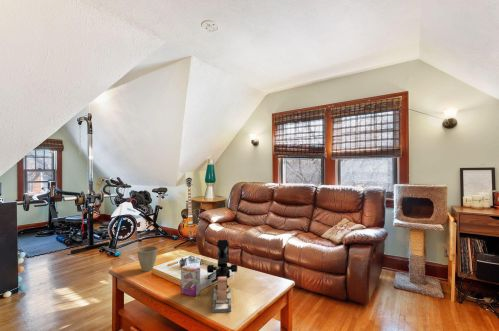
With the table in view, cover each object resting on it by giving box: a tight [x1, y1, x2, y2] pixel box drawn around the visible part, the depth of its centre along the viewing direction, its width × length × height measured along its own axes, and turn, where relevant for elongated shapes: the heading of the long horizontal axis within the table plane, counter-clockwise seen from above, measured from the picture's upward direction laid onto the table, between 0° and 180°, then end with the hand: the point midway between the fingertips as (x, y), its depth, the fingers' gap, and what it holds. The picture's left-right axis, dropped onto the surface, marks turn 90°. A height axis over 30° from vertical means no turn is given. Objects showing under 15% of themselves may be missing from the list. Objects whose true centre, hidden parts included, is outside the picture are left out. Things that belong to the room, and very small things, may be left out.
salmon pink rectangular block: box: [216, 277, 228, 303], centre depth 149 cm, size 7×7×12 cm
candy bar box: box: [180, 264, 201, 297], centre depth 159 cm, size 11×5×16 cm, turn 71°
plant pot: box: [137, 245, 159, 272], centre depth 197 cm, size 15×15×16 cm
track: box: [212, 288, 232, 313], centre depth 149 cm, size 20×10×4 cm, turn 5°
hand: (222, 282), depth 155 cm, fingers closed
